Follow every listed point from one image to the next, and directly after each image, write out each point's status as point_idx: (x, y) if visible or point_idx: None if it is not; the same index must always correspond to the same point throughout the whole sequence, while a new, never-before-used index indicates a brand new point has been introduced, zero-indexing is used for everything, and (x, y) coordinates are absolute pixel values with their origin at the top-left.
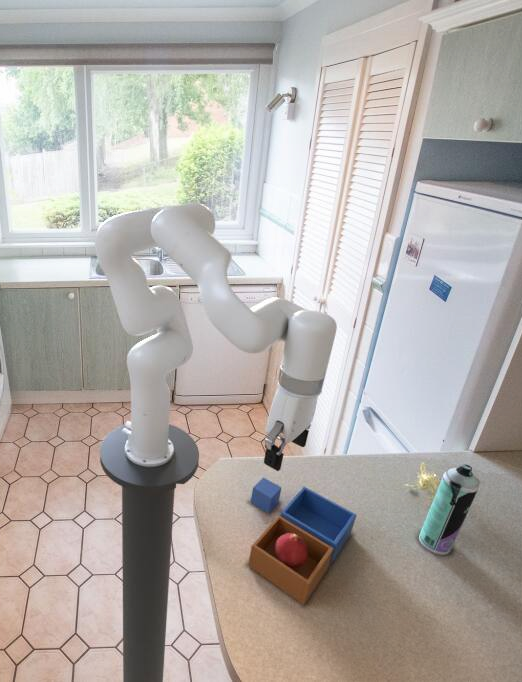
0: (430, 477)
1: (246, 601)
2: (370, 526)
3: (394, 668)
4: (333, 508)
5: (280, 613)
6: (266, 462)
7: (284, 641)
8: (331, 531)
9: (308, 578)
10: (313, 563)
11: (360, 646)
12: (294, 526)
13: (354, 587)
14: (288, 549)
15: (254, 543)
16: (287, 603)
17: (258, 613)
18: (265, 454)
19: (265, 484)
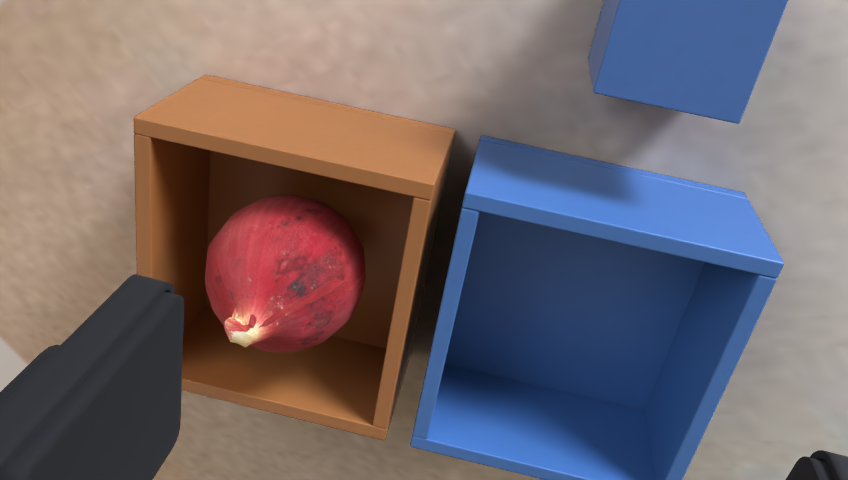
0: None
1: (57, 124)
2: (745, 475)
3: None
4: (685, 406)
5: (111, 244)
6: (49, 347)
7: (37, 276)
8: (613, 355)
9: None
10: (384, 315)
11: (193, 455)
12: (402, 277)
13: (386, 435)
14: (208, 294)
15: (154, 125)
16: None
17: (52, 178)
18: (50, 359)
19: (717, 13)
